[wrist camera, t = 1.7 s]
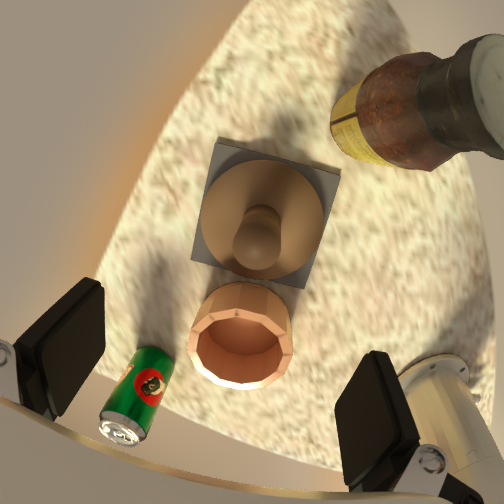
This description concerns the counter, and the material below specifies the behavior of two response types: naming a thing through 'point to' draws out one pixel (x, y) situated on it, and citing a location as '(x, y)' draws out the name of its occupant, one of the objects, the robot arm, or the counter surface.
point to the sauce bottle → (426, 108)
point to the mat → (233, 156)
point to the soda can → (136, 397)
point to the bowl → (242, 336)
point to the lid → (262, 219)
